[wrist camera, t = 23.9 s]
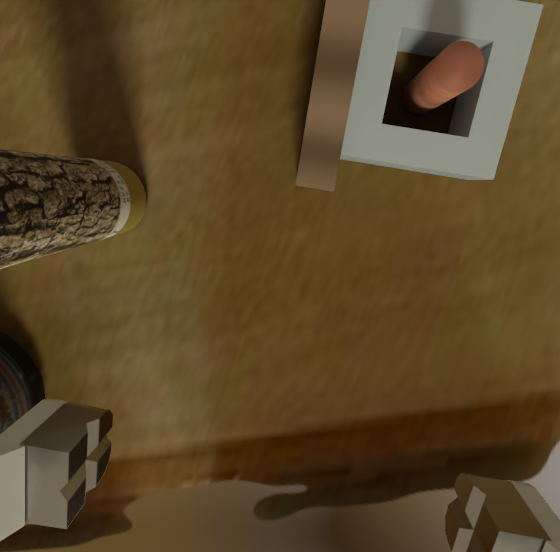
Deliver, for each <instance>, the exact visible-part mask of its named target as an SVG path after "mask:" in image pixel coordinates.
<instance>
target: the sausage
mask: <svg viewBox="0 0 560 552" xmlns="http://www.w3.org/2000/svg"><path fill="white" fill-rule="evenodd" d="M483 69H484V58H483V54H482V52H481V50H480V49H479V48H478V47H477V46H476V45H475V44H473V43H471V42H469V41H457V42H454V43H452V44H450V45H448V46H447V47H446V48H445V49H444V50H443V51H441V52H440V53H439V54H438V55H437V56H436V57H435V58H434V59H433V60H432V61H431V62H430V63H429V64H428V65H427V66H426V67H425V68H424V69H423V70H421V71H420V72H419V73H418V74H417V75H416V76H415V77H414V78H413V79H412V80H411V81H410V82H409V83H408V84H407V85H406V87H405V88H404V90H403V94H402V102H403V105H404V107H405V109H406V110H407V111H408V112H410V113H411V114H415V115H422V114H425V113H427V112H429V111H431V110H433V109H434V108H436V107H438V106H440V105H441V104H443V103H445V102H447V101H449V100H450V99H452V98H454V97H456V96H457V95H459V94H461V93H463V92H465V91H466V90H468V89H470V88H471V87H473V86H474V85H475V84H476V83H477V82H478V80H479V79H480V77H481V75H482V73H483Z"/></svg>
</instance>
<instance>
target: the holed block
mask: <svg viewBox="0 0 560 552" xmlns="http://www.w3.org/2000/svg"><path fill="white" fill-rule="evenodd" d="M542 8H543V4H536V3H529V2H523V1H516V0H370V3H369V8H368V13H367V19H366V24H365V29H364V34H363V40H362V45H361V50H360V56H359V61H358V66H357V71H356V77H355V82H354V87H353V93H352V98H351V103H350V108H349V114H348V119H347V124H346V130H345V135H344V140H343V145H342V151H341V156H340V159H343V160H349V161H356V162H362V163H368V164H374V165H380V166H386V167H392V168H398V169H405V170H411V171H417V172H423V173H429V174H435V175H441V176H447V177H454V178H460V179H466V180H493V179H494V176H495V172H496V169H497V165H498V162H499V158H500V155H501V151H502V148H503V144H504V141H505V137H506V134H507V131H508V127H509V124H510V120H511V117H512V113H513V110H514V106H515V103H516V99H517V96H518V92H519V89H520V85H521V82H522V78H523V75H524V71H525V68H526V64H527V61H528V57H529V54H530V50H531V47H532V43H533V40H534V36H535V33H536V29H537V26H538V22H539V19H540V15H541V12H542ZM457 41H469V42H471V43H473V44H475V45H476V46H477V47H478V48H479V49H480V50H481V52H482V54H483V58H484V69H483V73H482V75H481V77H480V79H479V80H478V82H477V83H476V84H475V85H474V86H473V87H471V88H470V89H468V90H466V91H465V92H463V93H461V94H459V95H457V99H456V103H455V107H454V111H453V115H452V119H451V123H450V127H449V131H448V134H443V133H437V132H430V131H424V130H418V129H412V128H405V127H399V126H393V125H387V124H382V120H383V116H384V111H385V106H386V101H387V97H388V92H389V87H390V82H391V78H392V73H393V68H394V63H395V59H396V54H397V51H400V52H406V53H412V54H419V55H425V56H431V57H436V56H437V55H438V54H439V53H440V52H441V51H443V50H444V49H445V48H446V47H447V46H448V45H450V44H452V43H454V42H457Z"/></svg>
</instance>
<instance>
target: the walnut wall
mask: <svg viewBox="0 0 560 552" xmlns="http://www.w3.org/2000/svg"><path fill="white" fill-rule="evenodd" d="M369 3H370V0H326V3H325V9H324V15H323V21H322V27H321V33H320V39H319V45H318V51H317V57H316V63H315V69H314V76H313V82H312V88H311V94H310V100H309V106H308V112H307V118H306V124H305V130H304V136H303V142H302V148H301V154H300V160H299V166H298V173H297V179H296V185H297V186H303V187H309V188H315V189H321V190H327V191H333V192H334V188H335V182H336V177H337V172H338V167H339V161H340V156H341V151H342V145H343V140H344V135H345V130H346V124H347V119H348V114H349V108H350V103H351V98H352V93H353V87H354V82H355V77H356V71H357V66H358V61H359V56H360V50H361V45H362V40H363V34H364V29H365V24H366V19H367V13H368V8H369Z"/></svg>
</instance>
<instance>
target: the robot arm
mask: <svg viewBox="0 0 560 552" xmlns="http://www.w3.org/2000/svg"><path fill="white" fill-rule="evenodd" d="M112 420H113V414H112V412H111V411H110V410H107V409H102V408H97V407H92V406H87V405H82V404H77V403H72V402H67V401H61V400H56V399H50V398H48V399H43V400H42V401H40V402H39V403H38V404H37V405H36V406H34V407H33V408H32V409H31V410H29V411H28V412H27V413H26V414H25V415H23V416H22V417H21V418H20V419H18V420H17V421H16V422H15V423H14V424H12V425H11V426H10V427H9V428H7V429H6V430H5V431H4V432H3V433H1V434H0V541H1V540H3V539H4V538H6V537H7V536H9V535H10V534H12V533H14V532H15V531H17V530H18V529H20V528H21V527H23V526H24V525H25V523H30V524H37V525H43V526H50V527H56V528H63V529H67V528H68V526H69V525H70V523H71V522H72V520H73V519H74V518H75V516H76V515H77V513H78V512H79V510H80V509H81V508H82V506H83V505H84V503H85V492H87V491H89V490H91V489H93V488H94V487H96V486H97V484H98V483H99V481H100V480H101V478H102V477H103V474H104V472H105V470H106V467H107V465H108V462H109V457H110V453H111V442H110V440H109V439H108V437H107V435H106V434H107V433H108V431H109V430H110V429H111V428H112ZM454 489H455V491H456V493H457V495H458V498H456V499H455V500H454V501H452V502H451V503H450V504H449V505H448V509H447V513H446V517H445V522H446V523H445V531H446V535H447V540H448V543H449V546H450V549H451V551H452V552H560V520H559V518H558V517H557V516H556V514H555V513H554V512H553V510H552V509H551V508H550V507H549V505H548V504H547V503H546V501H545V500H544V499H543V497H542V496H541V495H540V493H539V492H538V491H537V489H536V488H535V487H533V486H532V485H530V484H529V483H523V482H516V481H509V480H505V481H504V480H498V479H493V478H487V477H481V476H475V475H469V474H463V473H461V474H460V475H459V477H458V478H457V480H456V483H455V486H454Z"/></svg>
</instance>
